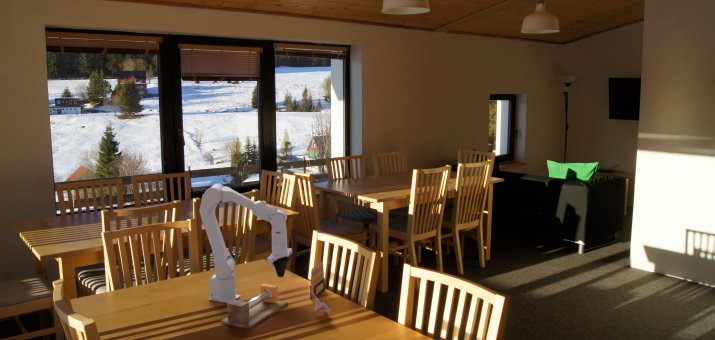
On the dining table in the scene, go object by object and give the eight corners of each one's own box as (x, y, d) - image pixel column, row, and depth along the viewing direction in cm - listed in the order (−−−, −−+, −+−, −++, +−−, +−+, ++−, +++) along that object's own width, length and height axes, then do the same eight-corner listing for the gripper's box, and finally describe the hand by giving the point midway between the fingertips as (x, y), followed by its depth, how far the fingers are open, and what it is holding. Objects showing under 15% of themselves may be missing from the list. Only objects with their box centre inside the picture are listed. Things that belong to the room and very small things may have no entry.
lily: (329, 329, 202) (340, 302, 203) (297, 316, 201) (308, 289, 203) (328, 326, 213) (338, 300, 215) (297, 313, 213) (308, 288, 215)
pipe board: (221, 323, 205) (220, 302, 204) (260, 300, 226) (260, 281, 225) (249, 328, 200) (249, 307, 199) (287, 304, 221) (287, 285, 220)
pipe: (238, 312, 206) (238, 305, 206) (268, 295, 222) (267, 288, 222) (245, 313, 205) (244, 306, 205) (273, 296, 221) (273, 289, 221)
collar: (261, 300, 221) (260, 285, 221) (264, 299, 223) (263, 283, 222) (275, 303, 219) (274, 287, 218) (278, 301, 221) (277, 285, 220)
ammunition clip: (314, 299, 226) (313, 269, 225) (310, 298, 227) (309, 268, 225) (325, 290, 236) (324, 261, 235) (321, 289, 237) (320, 260, 235)
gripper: (278, 247, 217) (279, 283, 219) (298, 238, 230) (299, 272, 232) (261, 245, 220) (263, 281, 222) (282, 236, 233) (284, 270, 235)
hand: (280, 276), depth 227 cm, fingers closed
